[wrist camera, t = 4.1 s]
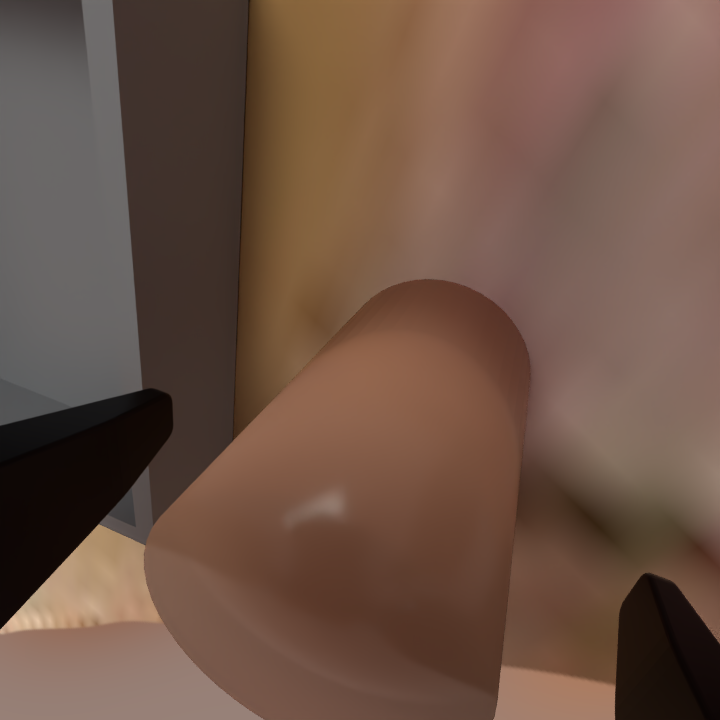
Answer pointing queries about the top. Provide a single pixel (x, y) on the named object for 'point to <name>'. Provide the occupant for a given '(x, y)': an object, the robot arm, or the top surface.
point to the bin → (123, 219)
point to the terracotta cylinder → (361, 522)
